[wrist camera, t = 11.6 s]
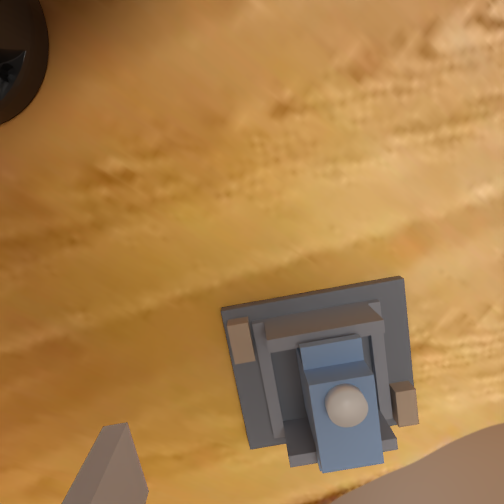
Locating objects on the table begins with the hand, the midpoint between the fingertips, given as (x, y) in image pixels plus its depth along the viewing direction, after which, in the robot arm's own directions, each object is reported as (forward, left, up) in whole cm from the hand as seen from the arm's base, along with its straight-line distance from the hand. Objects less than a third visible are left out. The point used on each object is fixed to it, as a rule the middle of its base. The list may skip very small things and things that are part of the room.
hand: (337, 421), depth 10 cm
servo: (+3, -12, -21) cm, 24 cm away
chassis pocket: (+3, -12, -22) cm, 25 cm away
